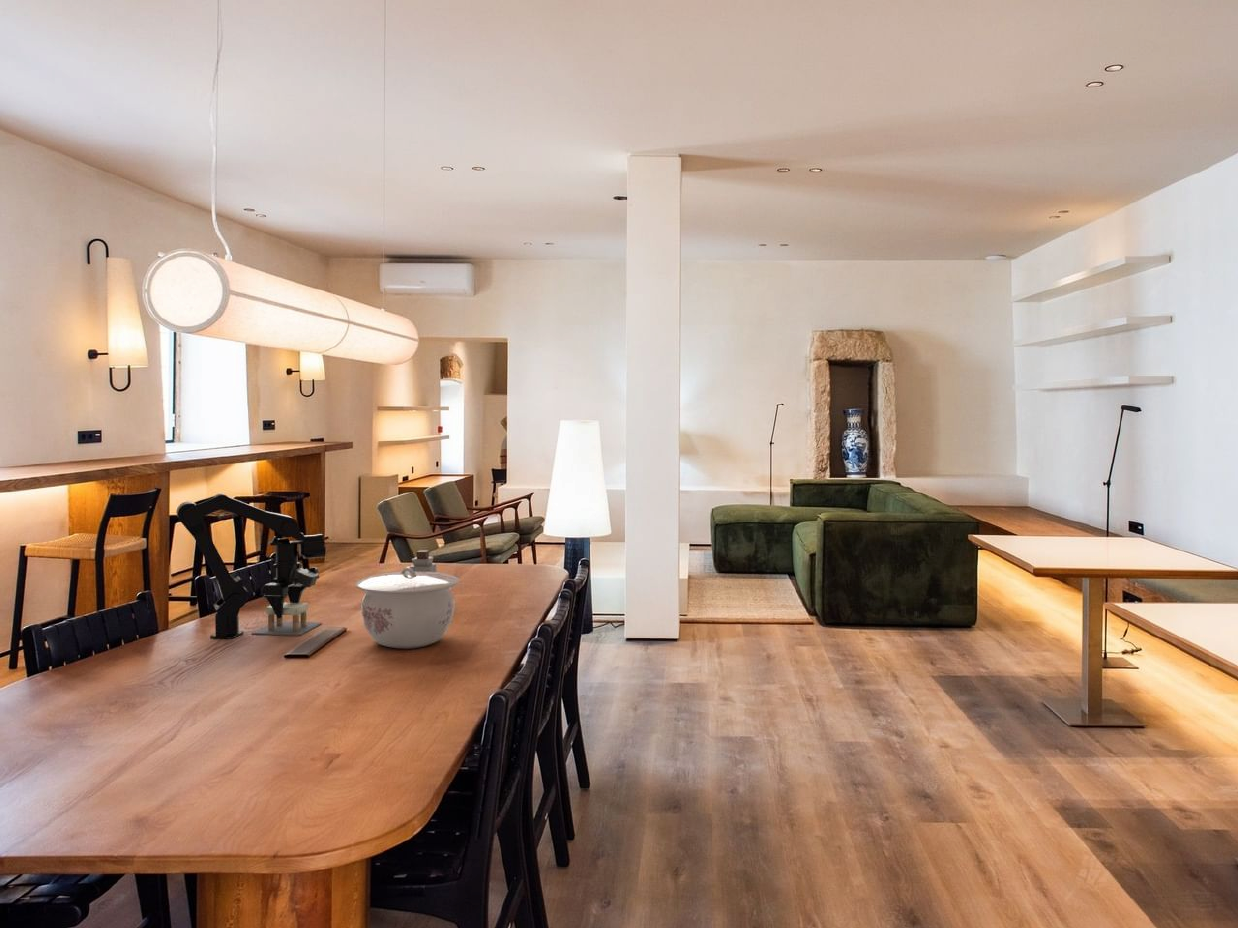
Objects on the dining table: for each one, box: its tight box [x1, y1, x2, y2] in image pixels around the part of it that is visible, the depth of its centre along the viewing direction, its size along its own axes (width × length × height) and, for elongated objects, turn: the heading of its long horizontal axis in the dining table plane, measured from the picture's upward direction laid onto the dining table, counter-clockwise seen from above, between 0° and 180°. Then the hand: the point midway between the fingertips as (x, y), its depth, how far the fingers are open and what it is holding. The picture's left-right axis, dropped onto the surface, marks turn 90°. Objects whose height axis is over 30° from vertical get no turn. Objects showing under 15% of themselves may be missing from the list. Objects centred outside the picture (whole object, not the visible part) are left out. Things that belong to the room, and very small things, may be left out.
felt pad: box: [251, 621, 323, 637], centre depth 246 cm, size 14×14×1 cm
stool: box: [266, 602, 309, 631], centre depth 246 cm, size 9×6×6 cm
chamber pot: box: [355, 566, 461, 650], centre depth 232 cm, size 28×28×21 cm
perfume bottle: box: [408, 549, 437, 572], centre depth 276 cm, size 7×7×18 cm
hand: (287, 614), depth 245 cm, fingers open, 9 cm apart
